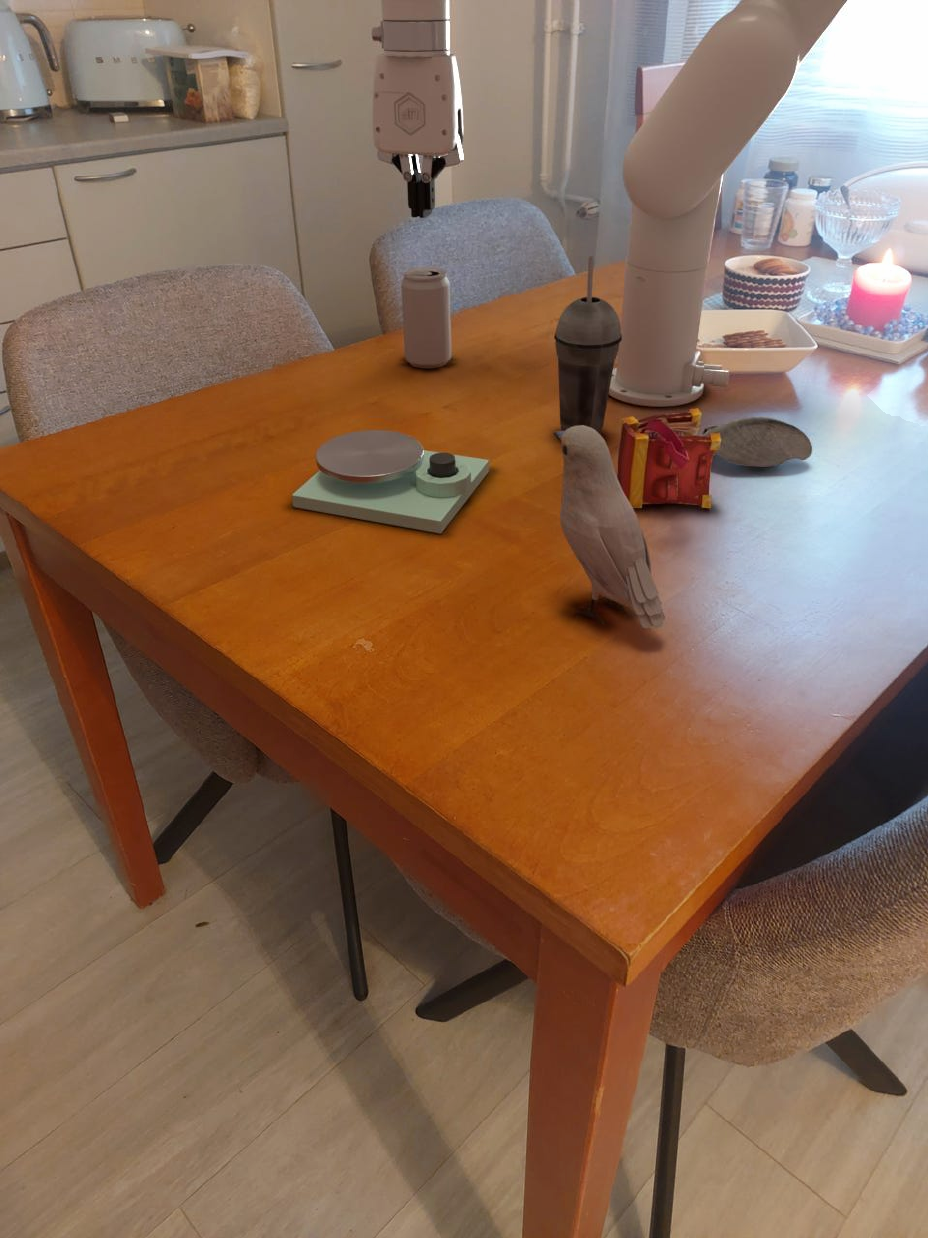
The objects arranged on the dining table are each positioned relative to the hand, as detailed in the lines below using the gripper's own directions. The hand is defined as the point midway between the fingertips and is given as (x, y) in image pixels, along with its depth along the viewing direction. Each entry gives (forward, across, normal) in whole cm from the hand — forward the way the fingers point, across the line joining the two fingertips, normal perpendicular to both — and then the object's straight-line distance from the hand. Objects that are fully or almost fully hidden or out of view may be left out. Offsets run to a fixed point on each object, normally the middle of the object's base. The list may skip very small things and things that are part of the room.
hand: (421, 214), depth 111 cm
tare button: (+16, +15, -35) cm, 42 cm away
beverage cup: (+19, +25, -16) cm, 36 cm away
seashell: (+19, +44, -17) cm, 51 cm away
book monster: (+19, +37, -31) cm, 52 cm away
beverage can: (+19, 0, +1) cm, 19 cm away
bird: (+19, +34, -50) cm, 63 cm away
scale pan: (+16, +7, -35) cm, 39 cm away
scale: (+19, +10, -35) cm, 41 cm away
